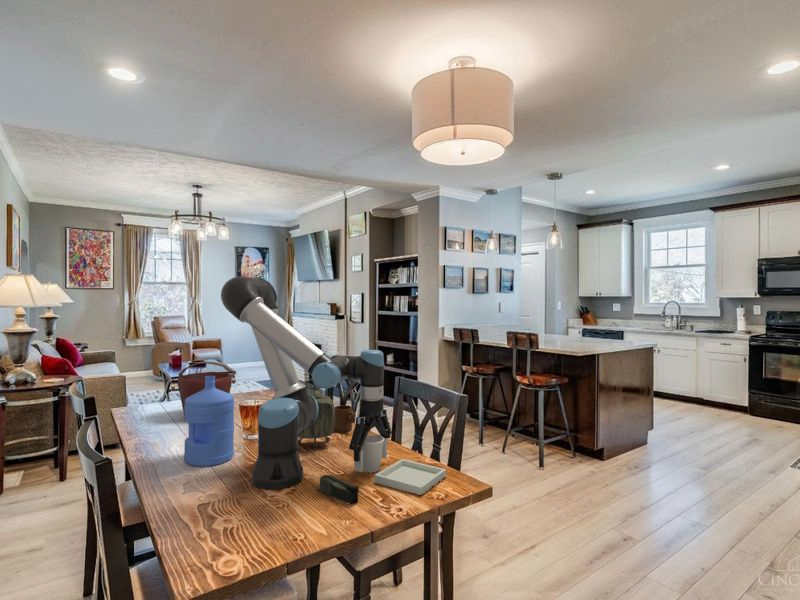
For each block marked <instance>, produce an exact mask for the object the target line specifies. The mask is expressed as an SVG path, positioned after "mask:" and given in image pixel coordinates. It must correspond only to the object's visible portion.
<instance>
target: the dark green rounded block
mask: <svg viewBox="0 0 800 600" xmlns="http://www.w3.org/2000/svg"><path fill="white" fill-rule="evenodd" d="M315 491H318V492H321V493H323V494H325V495H327V496H329V497H331V498H334V499H336V500H339V501H341V502H342V501H343V503H345V502H346V503H345V504H347V503H349V504H348V505H355V504H357V503H358V502H359V487H358V486H357V485H354V484H351V483H349V482H347V481H345V480H342V479H340V478H338V477H336V476H335V475H331V474H324V475H321V477H320V478H319V487H317V486H316V487H315ZM354 503H355V504H354Z"/></svg>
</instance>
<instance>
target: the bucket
mask: <svg viewBox="0 0 800 600" xmlns="http://www.w3.org/2000/svg"><path fill="white" fill-rule="evenodd" d="M201 364H206V365H207V364H209V365H215V366H219V367H222V368H223V369H224V370H226V371H228V372H224V371H223V372H222V371H221V372H219V371H204V372H196V373H194V372H193V373H192V372H191V373H186V374H185V375H184V373H185V372H186V371H187V370H188V369H190V368H192V367H194V366H197V365H201ZM231 372H232V373H231ZM235 375H236V371H235V370H234V369H233V368H232V367H229V366H228V365H227V364H225V363H221V362H216V361H200V362H196V363H193V364H190V365H188V366H186V367H185V368H182V370H180V372H179V373H178V377H177V388H178V392H179V396H180V401H181V407H182V411H183V415H184V417H185V412H184V406H185V400H186V398H188V397H189V396H191V395H193V394H195V393H197V392H199V391H201V390H203V389H204V388H205V381H206V379H205V377H206V376H215V388H216V389H219V390H221V391H224V392H227V393H229V394H231V387H232V383H233V382H232V381H233V380H232V379H233V378H234V376H235Z"/></svg>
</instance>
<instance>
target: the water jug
mask: <svg viewBox="0 0 800 600" xmlns="http://www.w3.org/2000/svg"><path fill="white" fill-rule="evenodd" d="M205 379H206V381H205V388H204V389H203V390H201V391H199V392H197V393H195V394H193V395H191V396H189V397H188V398H186V400H185V406H184V412H185V416H184V421H185V422H187V424H188V437H186V438H185V439H184V452H183V453H184V454H183V461H184V463H185V464H186V465H189V466H192V467H210V466H211V467H212V466H217V465H220V464H224V463H226V462H228V461H230V460H231V459H232V458H233V457H234V454H235V448H234V442H235V441H234V440H235V439H234V438H235V437H234V436H235V435H234V434H235V423H234V421H235V419H234V417H235V416H234V415H235V410H234V409H235V397H234V395H233V394H231V393H230V394H229V393H227V392H224V391H221V390H219V389H216V388H215V376H206V377H205ZM184 412H183V413H184Z"/></svg>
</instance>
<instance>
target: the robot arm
mask: <svg viewBox="0 0 800 600" xmlns="http://www.w3.org/2000/svg"><path fill="white" fill-rule="evenodd" d="M278 298H279V296H278V290H277V287H275V285H274V284H273V283H272V282H271V281H269V280H267V279H265V278H262V277H256V276H255V277H250V276H249V277H248V276H234V277H232V278H230V279H228V280H227V281H226V282H225V283H224V285H223V286H222V288H221V292H220V299H221V302H222V305H223V306H224V308H225V309H226V310H227V311H228V312H229V313H230V314H231V315H232V316H233V317H234V318H236V319H237V320H238V321H239V322H241V323H246V324H248V325H250V327H251V330H252V333H253V336H254V339H255V341H256V344H257V347H258V349H259V352H260V354H261V359H263V363H264V366H265V369H266V371H267V374H268V377H269V380H270V383H271V384H272V385H271V386H272V389H273V391H274V392H273V393H274V394H273V396H272V397H271V399H269V400H266V401H265V402H263V403H262V404H261V405H260V407H259V408H258V415H257V422H258V423H257V425H258V428H257V429H258V431H257V433H258V435H257V436H258V439H257V441H258V442H257V443H258V444H257V447H258V448H257V449H258V450H257V458H256V461H255V465H254V469H252V472H251V483H252V485H253V486H254V487H256V488H259V489H265V490H279V489H280V490H282V489H286V488H290V487H294V486H296V485H298V484H299V483H300V482H302V481H303V479H304V468H303V465H302V462H301V461H302V460H301V458H300V455H299V444H298V440H299V437H298V434H299V433H301V432H302V431H303V430H305V429H307V428H308V427H310V426H311V425H312V423H313V422H314V421H315V419H316V418H317V415H318V403H317V401H316V399H315V398H314V396H312V395H311V394H309V391H308V388H307V387H306V385H305V384H303V383H301V382H300V379H299V377H298V374H297V371H296V369H295V366H294V364H293V361H294V362H295V363H296V364H297V365H298V366H299V367H301V368H302V369H303V370H304V371H305V372H307V373H308V374H309V375H310V376H311V379H312V382H313V383H314V386H316V388H318V387H319V388H321V389H324V390H327V389H330V388H333V387H335V386H337V385H338V384H339V383H341V382H343V381H345V380H356V381H357V380H359V381H360V384H359V385H360V386H359V387H360V389H359V398H361V399H360V400H359V409H360V411H361V412H362V415H361V416H362V417H361V416H355V425H354V428H353V433H352V434H351V435H352V436H351V437H350V438H351V440H350V443H349V446H348V450H351V451H353V466H354V467H353V468H354V470H353V471H356V472H359V473H361V472H364V471H363V450H361V448H362V446H363V444H364V441H365V439H366V437H367V435H369V434H368V433H369V432H370V431H371V430H372V429H373V428H375V429H376V430H377V432H378V435H379V436H382V437H383V438H384V442H383V449H382V457H381V459H387V458H388V439H391V435H392V429H391V425H390V422H389V419H388V414H387V409H384V379H385V378H384V377H385V359H384V356H385V355H384V352H383V351H381V350H379V349H363V350H362V351H360V355H358V356H357V355H339V354H335V355H333V354H332V355H328V354H326V353H325V352H324V351H323V350H321V349H320V348H319V347H318V346H317V345H316V344H314V343H313V342H312V341H310V340H309V339H308V338H307V337H306V336H304V335H303V334H302V333H301V332H299V331H298V329H296V328H294V326H292V325H290V323H288V322H287V321H286V320H285V319H283V318H282V317H281V316H280V315H278V313H279V308H278V304H277V302H278Z"/></svg>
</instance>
